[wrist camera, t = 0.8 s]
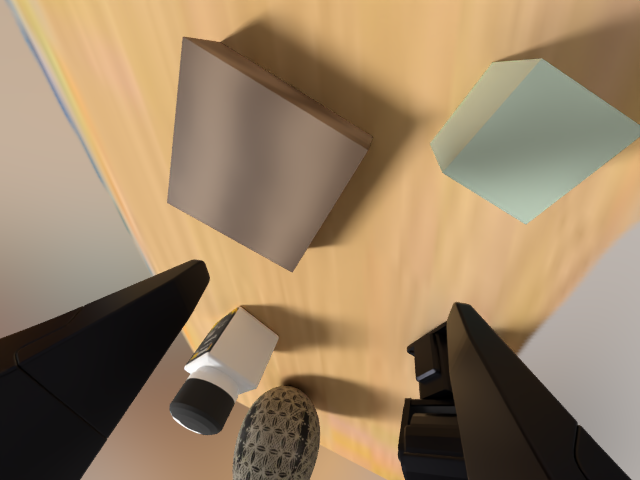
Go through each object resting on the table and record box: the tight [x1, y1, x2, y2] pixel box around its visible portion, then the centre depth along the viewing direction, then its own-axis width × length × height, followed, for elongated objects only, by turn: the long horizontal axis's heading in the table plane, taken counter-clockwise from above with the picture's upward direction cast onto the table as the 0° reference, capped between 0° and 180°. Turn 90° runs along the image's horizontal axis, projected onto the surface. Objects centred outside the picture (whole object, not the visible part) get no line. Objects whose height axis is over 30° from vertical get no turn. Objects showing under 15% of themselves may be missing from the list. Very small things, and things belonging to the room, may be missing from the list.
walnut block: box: [167, 37, 373, 272], centre depth 19 cm, size 12×12×4 cm
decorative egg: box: [233, 386, 320, 480], centre depth 36 cm, size 12×12×15 cm
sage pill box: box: [430, 58, 640, 224], centre depth 13 cm, size 5×5×6 cm
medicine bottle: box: [170, 307, 279, 435], centre depth 30 cm, size 7×7×12 cm
